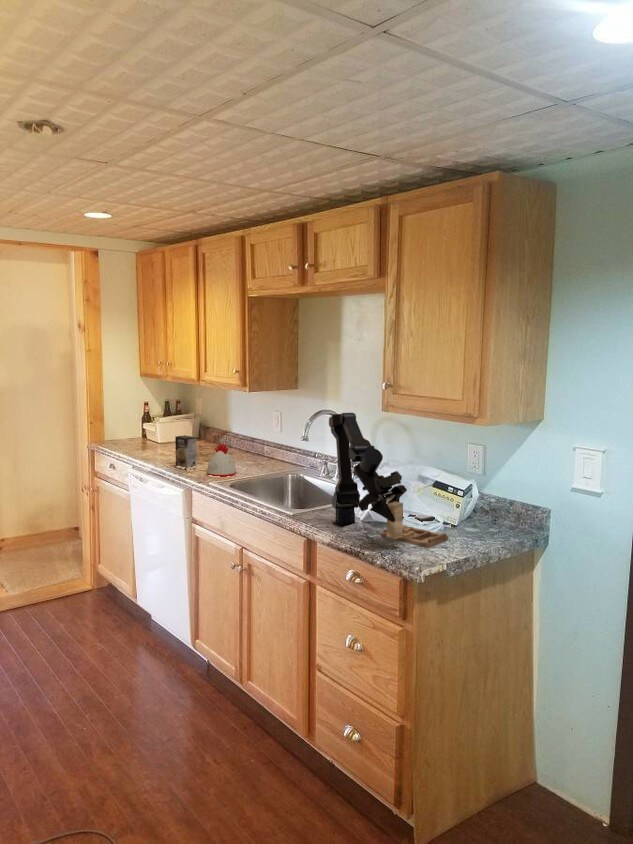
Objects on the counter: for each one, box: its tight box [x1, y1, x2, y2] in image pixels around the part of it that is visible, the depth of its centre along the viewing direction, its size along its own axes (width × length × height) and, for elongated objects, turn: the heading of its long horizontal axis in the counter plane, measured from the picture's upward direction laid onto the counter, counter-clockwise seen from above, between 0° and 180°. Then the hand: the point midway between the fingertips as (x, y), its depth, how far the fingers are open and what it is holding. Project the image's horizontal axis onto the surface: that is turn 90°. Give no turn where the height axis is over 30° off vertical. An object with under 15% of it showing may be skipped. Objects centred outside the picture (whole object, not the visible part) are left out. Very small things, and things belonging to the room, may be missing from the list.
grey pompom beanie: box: [206, 443, 237, 477], centre depth 311 cm, size 14×14×15 cm
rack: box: [380, 524, 449, 549], centre depth 210 cm, size 18×12×3 cm, turn 48°
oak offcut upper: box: [402, 525, 412, 534], centre depth 213 cm, size 5×4×1 cm
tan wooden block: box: [386, 501, 404, 540], centre depth 199 cm, size 3×4×10 cm
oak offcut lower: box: [402, 531, 415, 538], centre depth 213 cm, size 6×6×1 cm
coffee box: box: [174, 434, 197, 468], centre depth 326 cm, size 9×6×16 cm
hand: (398, 519), depth 199 cm, fingers closed on tan wooden block, 4 cm apart
